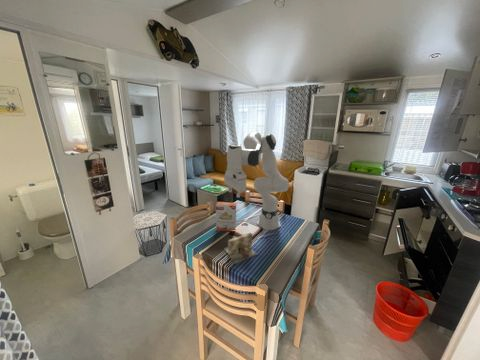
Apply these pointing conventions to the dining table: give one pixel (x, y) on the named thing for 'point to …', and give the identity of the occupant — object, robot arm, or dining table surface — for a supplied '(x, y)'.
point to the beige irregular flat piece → (239, 243)
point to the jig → (241, 253)
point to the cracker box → (225, 216)
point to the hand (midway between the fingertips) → (234, 194)
